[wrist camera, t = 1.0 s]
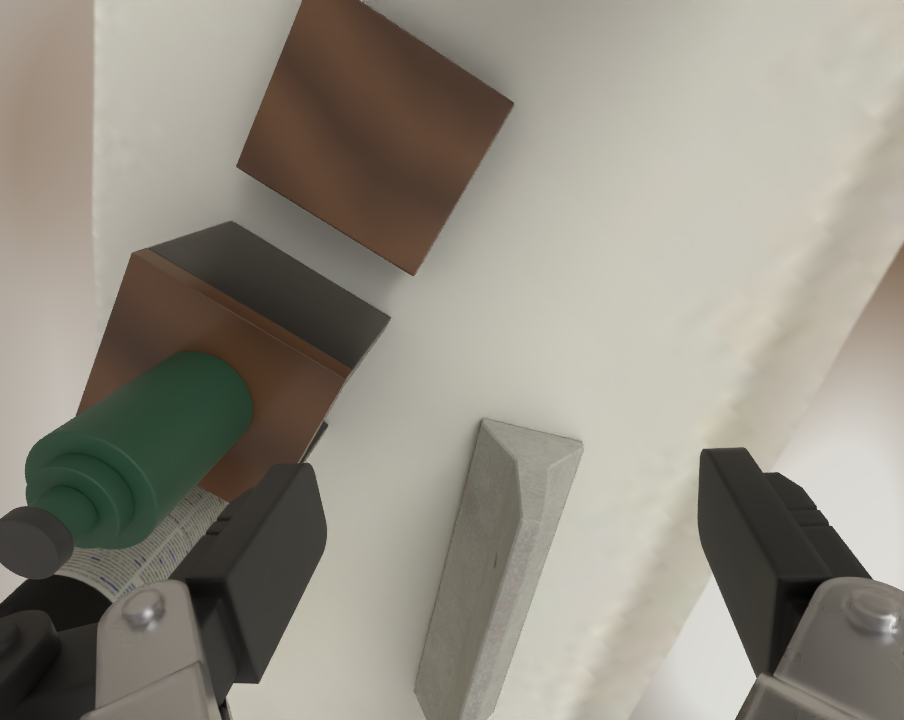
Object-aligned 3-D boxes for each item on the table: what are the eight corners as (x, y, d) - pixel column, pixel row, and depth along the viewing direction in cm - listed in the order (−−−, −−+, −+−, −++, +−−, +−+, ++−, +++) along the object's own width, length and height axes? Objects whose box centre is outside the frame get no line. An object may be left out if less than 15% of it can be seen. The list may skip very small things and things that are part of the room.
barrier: (482, 417, 40) (467, 505, 31) (583, 441, 40) (597, 537, 31) (415, 684, 51) (389, 807, 42) (493, 705, 51) (484, 833, 42)
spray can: (154, 457, 45) (-104, 685, 27) (213, 418, 43) (-24, 636, 25) (211, 518, 47) (4, 772, 29) (270, 483, 45) (87, 733, 27)
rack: (330, -19, 31) (244, -77, 22) (516, 104, 32) (508, 97, 23) (176, 351, 41) (74, 417, 32) (322, 436, 43) (263, 522, 33)
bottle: (172, 330, 29) (-40, 452, 18) (269, 386, 30) (118, 537, 19) (140, 411, 32) (-66, 562, 21) (231, 462, 32) (75, 636, 21)
